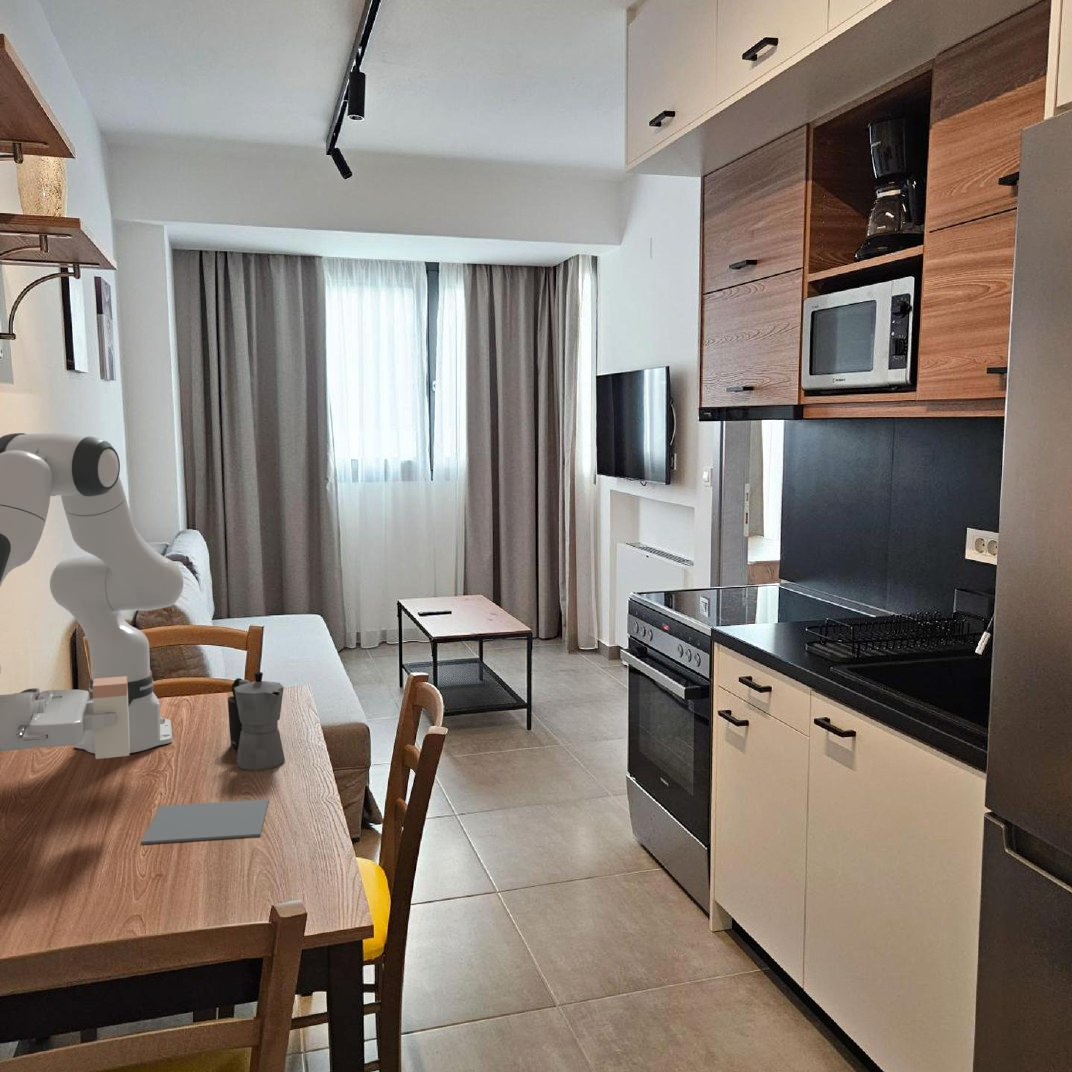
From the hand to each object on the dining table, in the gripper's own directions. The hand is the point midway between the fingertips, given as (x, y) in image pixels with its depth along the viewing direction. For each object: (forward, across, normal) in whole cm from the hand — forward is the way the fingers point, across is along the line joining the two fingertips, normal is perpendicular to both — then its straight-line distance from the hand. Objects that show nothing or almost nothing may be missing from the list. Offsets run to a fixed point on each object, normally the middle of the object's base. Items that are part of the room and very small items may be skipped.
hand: (117, 712), depth 160 cm
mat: (+13, -6, +18) cm, 23 cm away
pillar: (-1, 0, +7) cm, 7 cm away
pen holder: (+24, +34, +19) cm, 45 cm away
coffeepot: (+24, +22, +19) cm, 38 cm away
